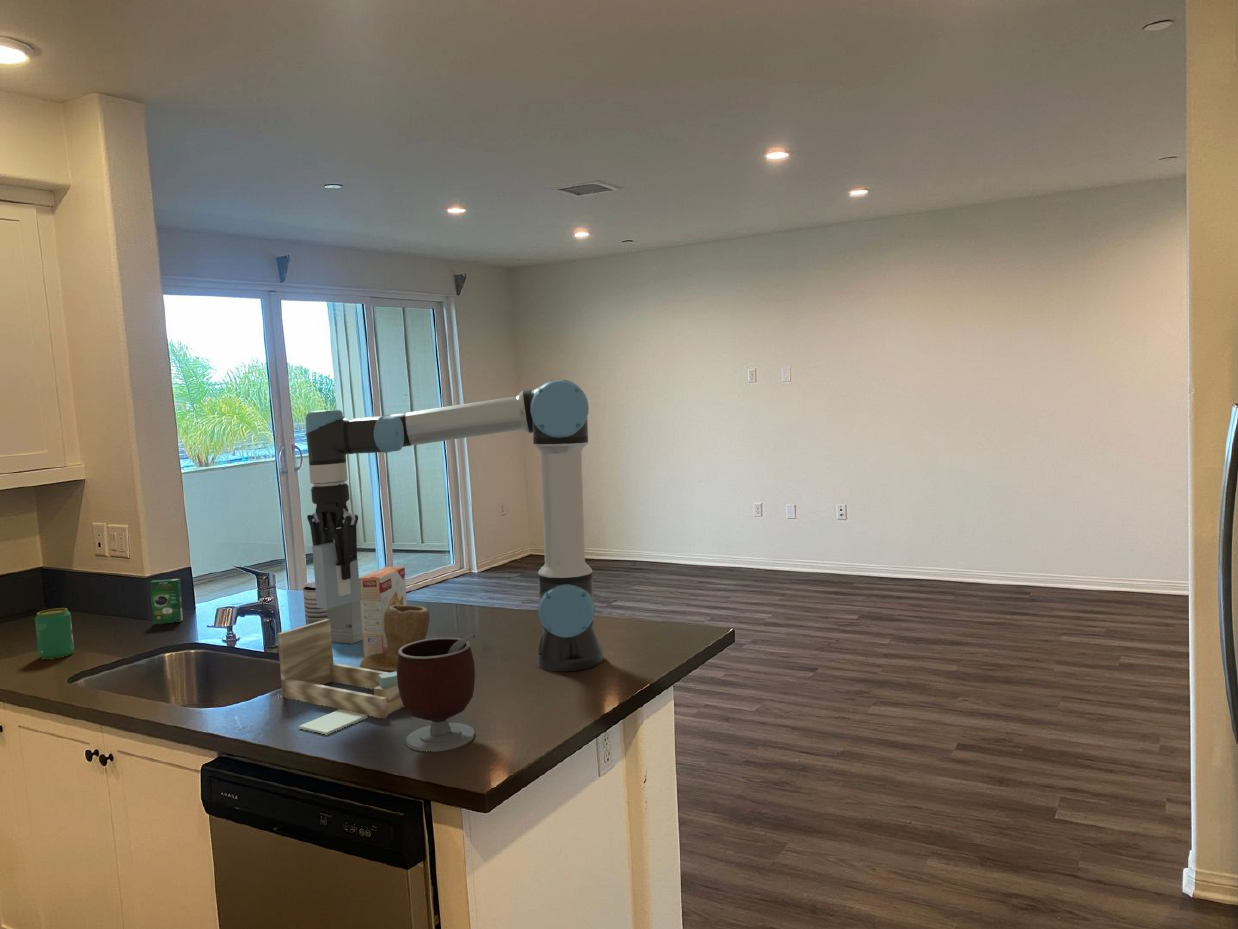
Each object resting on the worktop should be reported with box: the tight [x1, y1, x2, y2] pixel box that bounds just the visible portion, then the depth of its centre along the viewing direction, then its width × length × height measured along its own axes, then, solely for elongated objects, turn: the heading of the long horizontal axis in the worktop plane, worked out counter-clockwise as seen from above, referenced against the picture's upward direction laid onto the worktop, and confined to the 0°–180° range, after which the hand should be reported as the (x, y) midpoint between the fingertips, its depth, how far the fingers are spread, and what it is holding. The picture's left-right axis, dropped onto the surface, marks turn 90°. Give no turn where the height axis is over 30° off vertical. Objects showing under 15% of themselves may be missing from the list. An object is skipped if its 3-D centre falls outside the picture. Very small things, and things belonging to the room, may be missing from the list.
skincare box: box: [327, 600, 363, 645], centre depth 238 cm, size 8×7×16 cm
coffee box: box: [149, 578, 184, 626], centre depth 269 cm, size 8×3×13 cm, turn 103°
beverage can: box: [34, 607, 75, 659], centre depth 238 cm, size 8×8×12 cm
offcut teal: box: [378, 671, 398, 688], centre depth 184 cm, size 3×5×2 cm, turn 120°
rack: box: [276, 619, 389, 719], centre depth 190 cm, size 31×13×14 cm, turn 58°
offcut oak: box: [387, 697, 404, 714], centre depth 185 cm, size 5×9×2 cm, turn 152°
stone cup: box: [359, 604, 431, 673], centre depth 209 cm, size 15×12×15 cm
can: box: [302, 581, 327, 625], centre depth 258 cm, size 11×11×12 cm
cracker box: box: [359, 566, 408, 660], centre depth 221 cm, size 14×6×21 cm, turn 168°
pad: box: [298, 709, 369, 736], centre depth 176 cm, size 8×10×1 cm
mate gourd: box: [397, 633, 476, 753], centre depth 164 cm, size 16×14×20 cm
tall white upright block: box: [311, 541, 361, 609], centre depth 190 cm, size 3×9×13 cm, turn 148°
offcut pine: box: [373, 685, 400, 702], centre depth 184 cm, size 4×7×2 cm, turn 154°
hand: (338, 593), depth 190 cm, fingers closed on tall white upright block, 3 cm apart
